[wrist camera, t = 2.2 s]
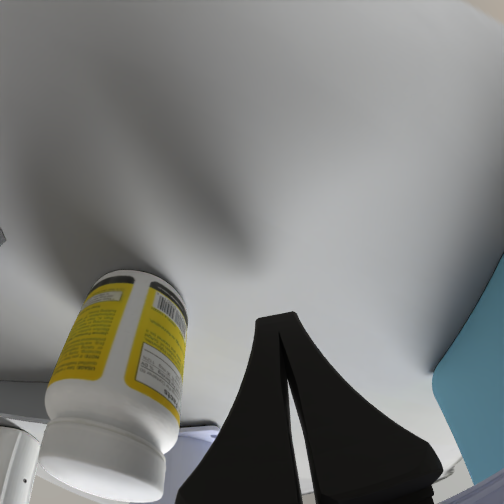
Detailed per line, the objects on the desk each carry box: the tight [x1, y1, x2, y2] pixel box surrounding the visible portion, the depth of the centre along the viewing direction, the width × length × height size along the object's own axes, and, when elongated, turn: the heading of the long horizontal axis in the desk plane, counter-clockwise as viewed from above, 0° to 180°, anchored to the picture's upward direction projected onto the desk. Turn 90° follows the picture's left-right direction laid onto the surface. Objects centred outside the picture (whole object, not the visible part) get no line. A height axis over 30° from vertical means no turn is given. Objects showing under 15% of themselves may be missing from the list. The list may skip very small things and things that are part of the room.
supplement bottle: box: [38, 270, 188, 503], centre depth 10 cm, size 5×5×8 cm
